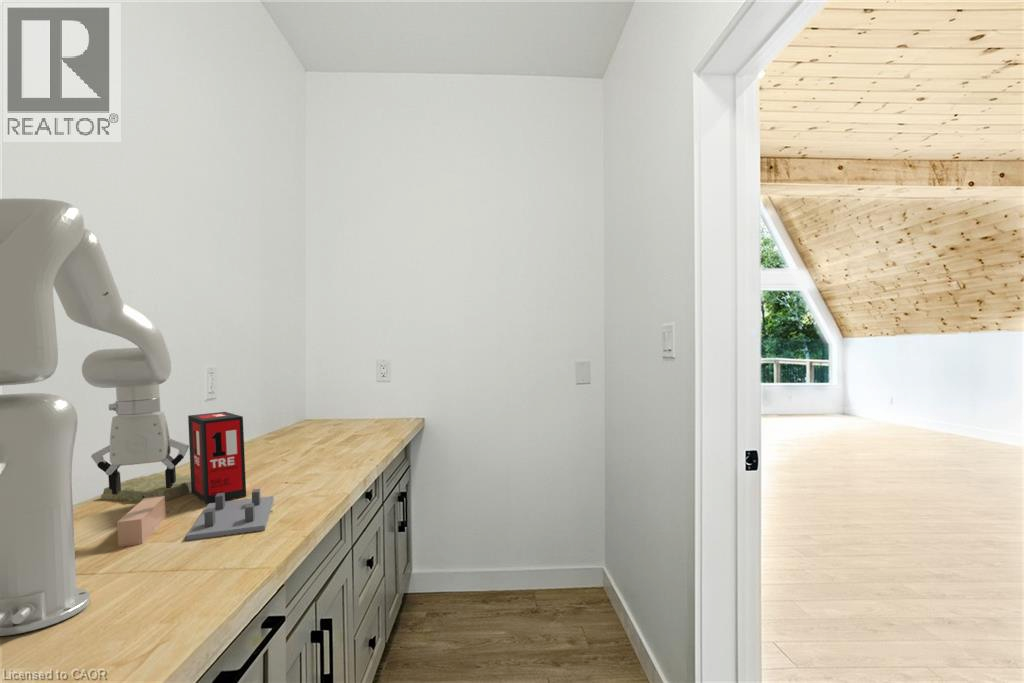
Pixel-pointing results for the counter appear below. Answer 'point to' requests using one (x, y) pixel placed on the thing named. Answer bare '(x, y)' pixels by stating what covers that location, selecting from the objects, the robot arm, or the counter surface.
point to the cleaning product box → (217, 456)
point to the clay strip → (141, 521)
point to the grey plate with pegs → (232, 516)
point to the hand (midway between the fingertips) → (143, 489)
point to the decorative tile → (150, 488)
